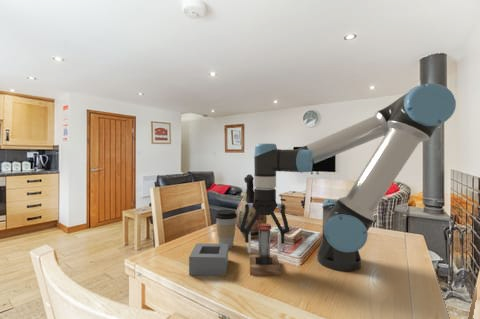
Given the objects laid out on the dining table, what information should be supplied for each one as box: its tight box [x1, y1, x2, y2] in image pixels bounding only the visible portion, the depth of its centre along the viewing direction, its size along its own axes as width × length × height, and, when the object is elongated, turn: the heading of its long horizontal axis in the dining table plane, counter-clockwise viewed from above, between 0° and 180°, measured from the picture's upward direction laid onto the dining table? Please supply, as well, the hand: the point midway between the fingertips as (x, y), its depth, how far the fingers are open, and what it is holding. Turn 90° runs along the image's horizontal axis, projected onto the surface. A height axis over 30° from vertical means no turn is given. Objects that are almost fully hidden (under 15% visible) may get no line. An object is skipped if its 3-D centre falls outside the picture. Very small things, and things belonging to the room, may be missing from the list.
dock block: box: [188, 242, 229, 277], centre depth 86 cm, size 12×12×6 cm
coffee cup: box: [214, 209, 237, 250], centre depth 105 cm, size 9×9×15 cm
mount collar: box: [249, 254, 282, 276], centre depth 86 cm, size 10×10×2 cm
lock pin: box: [257, 223, 272, 265], centre depth 86 cm, size 5×5×15 cm
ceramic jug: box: [235, 173, 268, 239], centre depth 120 cm, size 17×15×30 cm
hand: (264, 251), depth 86 cm, fingers open, 10 cm apart
